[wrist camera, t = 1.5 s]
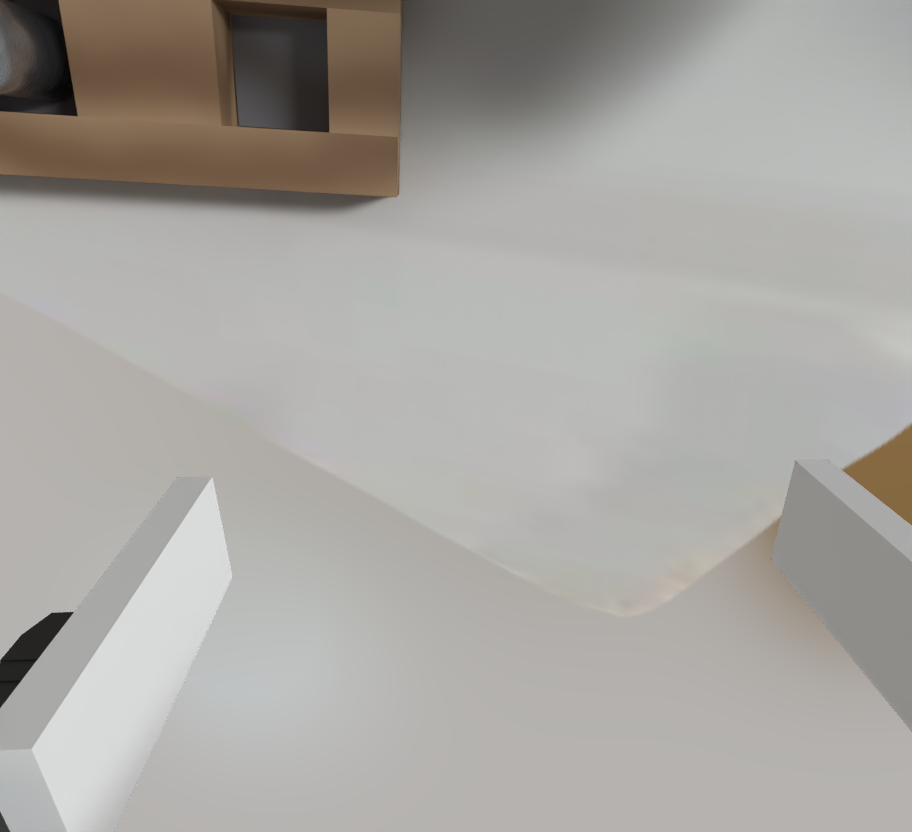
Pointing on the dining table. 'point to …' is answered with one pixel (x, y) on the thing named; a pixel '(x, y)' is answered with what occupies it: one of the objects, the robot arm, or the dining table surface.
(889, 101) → the dining table surface
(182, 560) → the robot arm
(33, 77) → the seated stud
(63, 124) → the socket board
